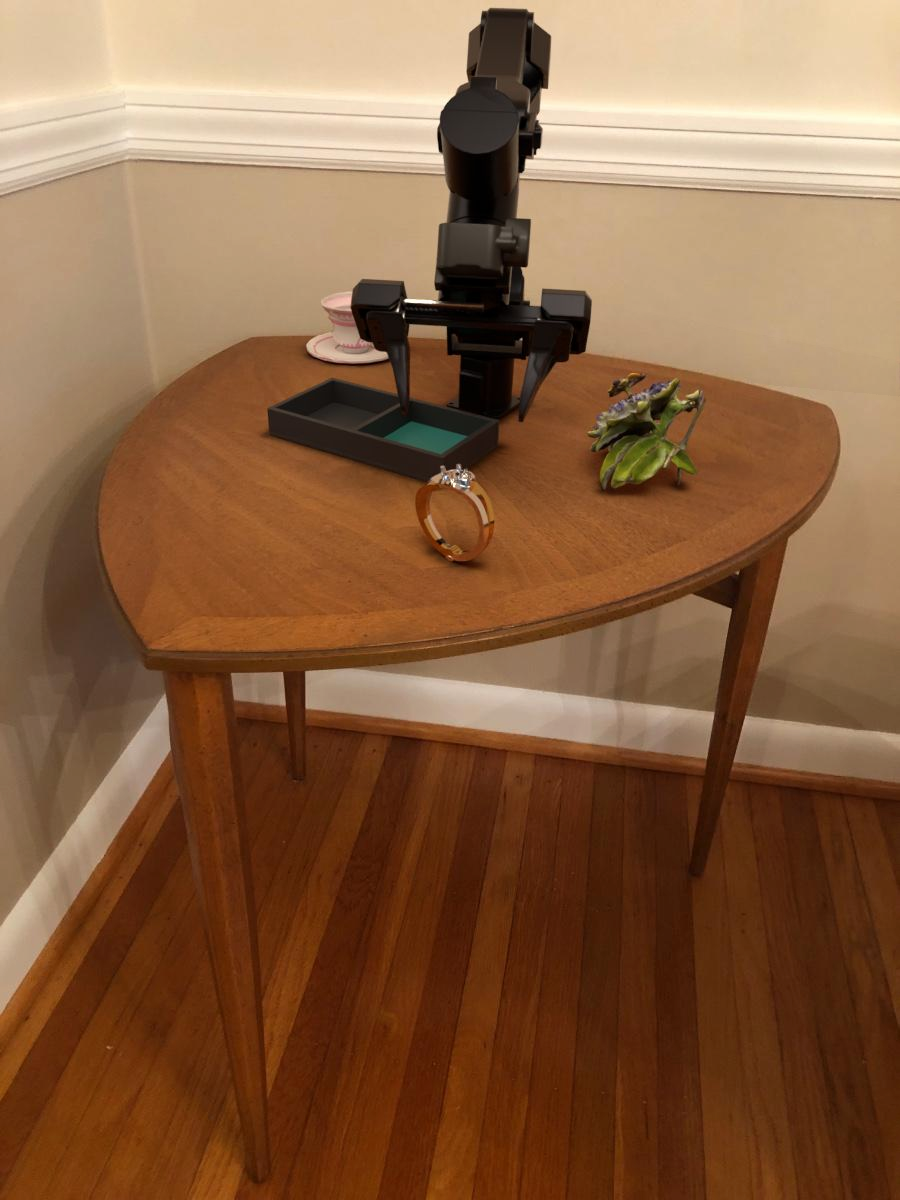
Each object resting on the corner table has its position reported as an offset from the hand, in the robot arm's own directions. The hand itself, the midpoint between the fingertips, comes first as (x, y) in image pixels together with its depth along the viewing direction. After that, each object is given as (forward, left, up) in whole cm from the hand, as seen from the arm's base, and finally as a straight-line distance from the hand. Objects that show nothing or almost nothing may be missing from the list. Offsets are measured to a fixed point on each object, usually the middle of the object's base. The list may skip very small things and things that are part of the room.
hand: (461, 416), depth 74 cm
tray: (-12, -16, -11) cm, 23 cm away
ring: (+4, +2, -11) cm, 12 cm away
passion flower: (-20, +9, -11) cm, 25 cm away
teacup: (-33, -35, -11) cm, 50 cm away
